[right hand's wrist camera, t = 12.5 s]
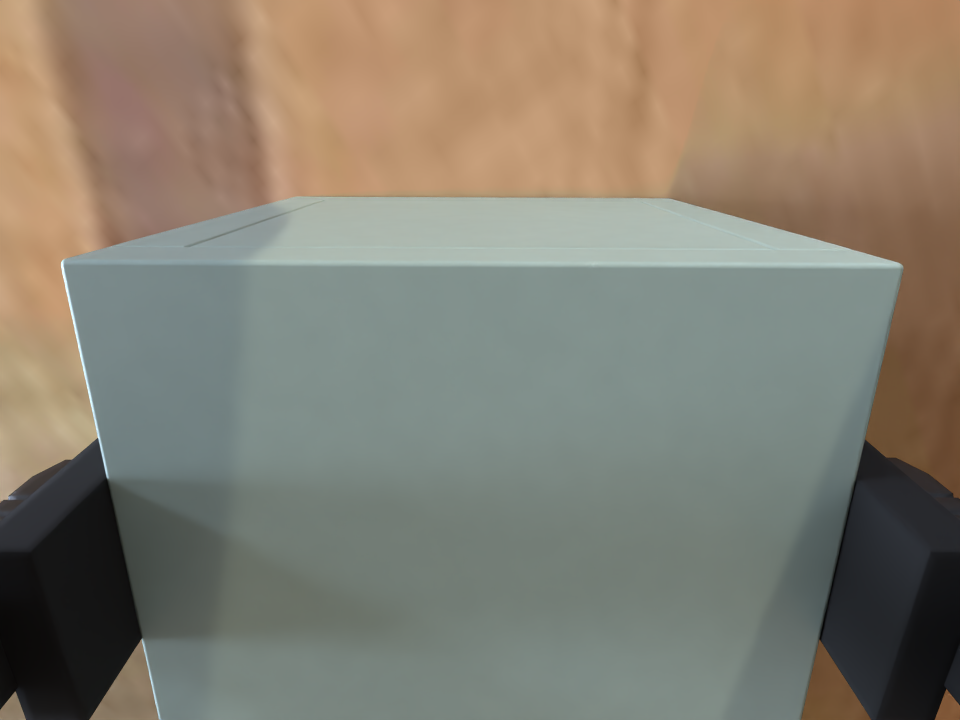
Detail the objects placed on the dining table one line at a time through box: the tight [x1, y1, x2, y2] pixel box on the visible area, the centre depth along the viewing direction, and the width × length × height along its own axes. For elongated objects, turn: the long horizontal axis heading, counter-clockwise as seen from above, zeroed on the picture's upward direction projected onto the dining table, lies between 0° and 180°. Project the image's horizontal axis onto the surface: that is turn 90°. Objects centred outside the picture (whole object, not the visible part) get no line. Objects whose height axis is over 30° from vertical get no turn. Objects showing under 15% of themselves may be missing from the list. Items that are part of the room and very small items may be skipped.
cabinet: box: [61, 197, 903, 720], centre depth 16 cm, size 22×10×10 cm, turn 0°
